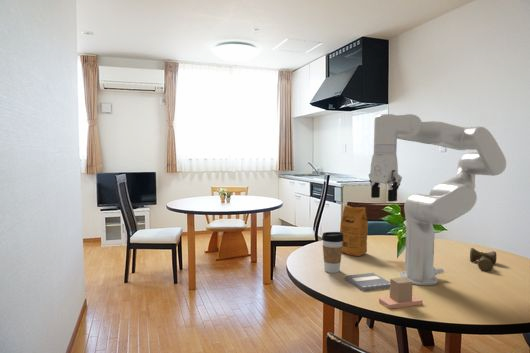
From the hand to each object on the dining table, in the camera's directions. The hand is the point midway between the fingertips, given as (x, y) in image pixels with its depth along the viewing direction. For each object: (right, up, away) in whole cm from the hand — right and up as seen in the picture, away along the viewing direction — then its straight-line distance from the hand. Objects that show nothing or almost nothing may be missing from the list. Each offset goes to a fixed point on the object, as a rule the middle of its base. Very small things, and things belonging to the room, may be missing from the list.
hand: (383, 199), depth 124 cm
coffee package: (-1, -28, +41) cm, 50 cm away
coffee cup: (-15, -29, +16) cm, 37 cm away
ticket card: (-5, -30, +3) cm, 31 cm away
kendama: (+51, -30, +25) cm, 64 cm away
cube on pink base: (0, -31, -14) cm, 34 cm away
